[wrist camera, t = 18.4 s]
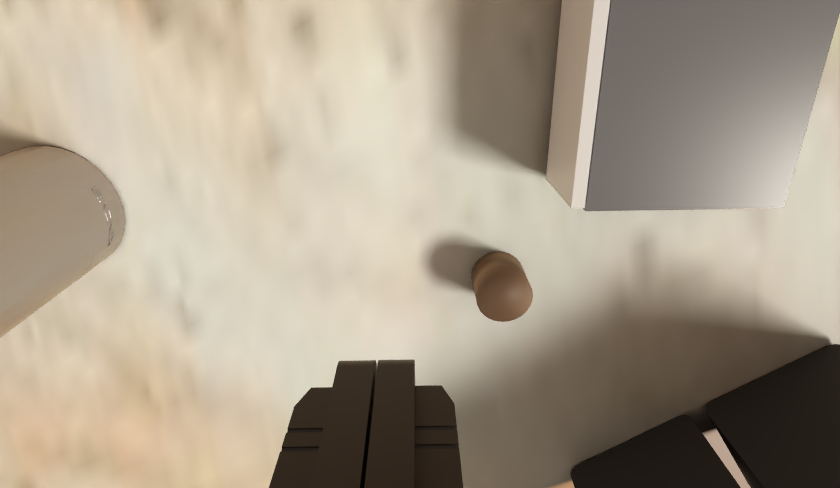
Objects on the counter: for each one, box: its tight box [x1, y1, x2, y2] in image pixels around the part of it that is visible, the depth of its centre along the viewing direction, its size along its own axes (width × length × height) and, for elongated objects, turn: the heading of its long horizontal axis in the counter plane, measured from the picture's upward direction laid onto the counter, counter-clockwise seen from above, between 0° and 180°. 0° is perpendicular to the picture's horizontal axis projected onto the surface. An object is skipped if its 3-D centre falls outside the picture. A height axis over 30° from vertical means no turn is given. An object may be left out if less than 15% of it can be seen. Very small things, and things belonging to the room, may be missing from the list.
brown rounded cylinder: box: [472, 252, 533, 322], centre depth 38 cm, size 4×4×4 cm
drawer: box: [546, 0, 610, 208], centre depth 30 cm, size 9×13×6 cm
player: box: [583, 0, 840, 211], centre depth 31 cm, size 12×14×6 cm
